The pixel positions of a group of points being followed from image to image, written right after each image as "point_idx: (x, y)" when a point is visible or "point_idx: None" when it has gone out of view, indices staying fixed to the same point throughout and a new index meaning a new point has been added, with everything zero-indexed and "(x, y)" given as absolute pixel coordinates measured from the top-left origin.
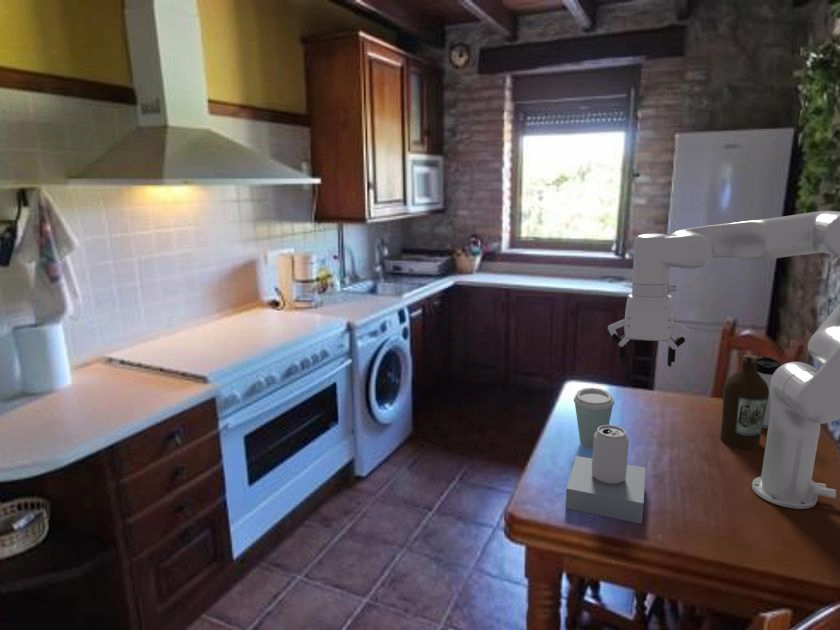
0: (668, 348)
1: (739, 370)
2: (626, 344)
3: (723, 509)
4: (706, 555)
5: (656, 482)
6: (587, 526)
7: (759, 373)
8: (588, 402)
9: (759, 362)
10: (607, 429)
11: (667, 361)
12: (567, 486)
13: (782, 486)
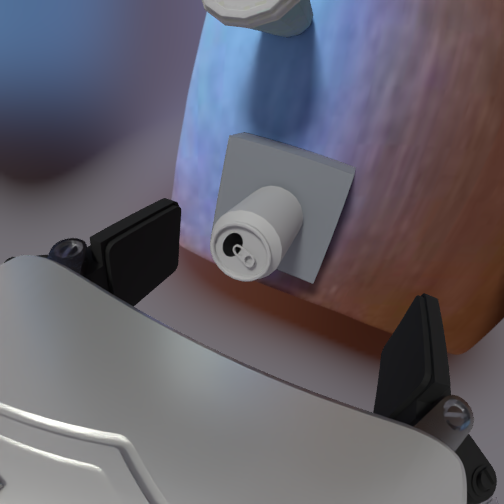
0: (393, 409)
1: None
2: (109, 257)
3: (450, 237)
4: (372, 321)
5: (383, 154)
6: None
7: None
8: (225, 17)
9: None
10: (241, 211)
11: (407, 317)
12: (211, 237)
13: None
